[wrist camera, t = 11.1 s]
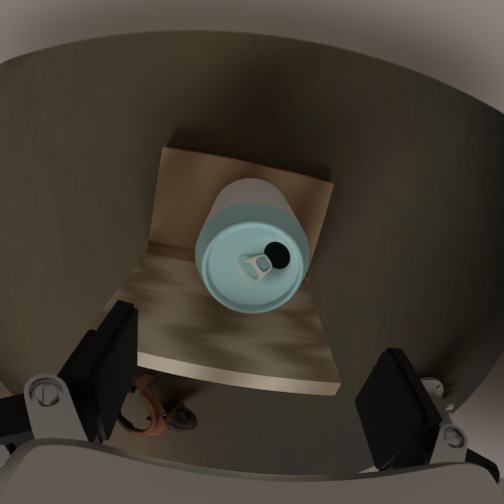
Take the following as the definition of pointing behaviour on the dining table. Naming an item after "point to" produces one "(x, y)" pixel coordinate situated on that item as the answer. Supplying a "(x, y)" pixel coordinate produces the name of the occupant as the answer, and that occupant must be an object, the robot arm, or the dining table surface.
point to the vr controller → (158, 412)
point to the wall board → (201, 300)
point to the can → (252, 248)
